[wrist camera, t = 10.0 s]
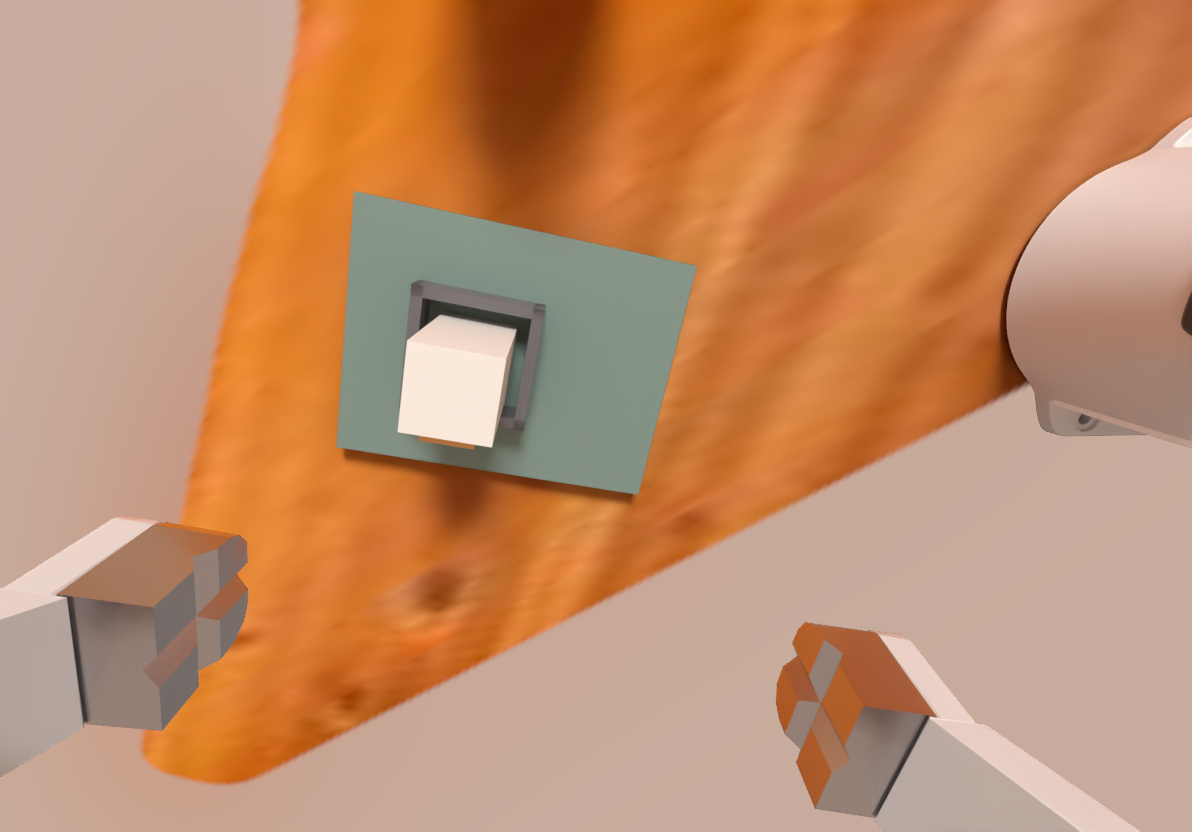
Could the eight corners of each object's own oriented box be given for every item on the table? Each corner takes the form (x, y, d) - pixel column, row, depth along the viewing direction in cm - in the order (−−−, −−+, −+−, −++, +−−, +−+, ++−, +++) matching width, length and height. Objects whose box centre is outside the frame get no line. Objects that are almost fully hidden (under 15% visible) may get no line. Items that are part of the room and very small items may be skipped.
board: (691, 264, 31) (706, 268, 28) (635, 486, 35) (642, 510, 32) (361, 192, 29) (339, 188, 26) (343, 439, 33) (322, 460, 30)
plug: (517, 325, 30) (506, 358, 23) (505, 402, 32) (490, 457, 24) (444, 311, 30) (407, 340, 22) (434, 389, 31) (396, 441, 24)
